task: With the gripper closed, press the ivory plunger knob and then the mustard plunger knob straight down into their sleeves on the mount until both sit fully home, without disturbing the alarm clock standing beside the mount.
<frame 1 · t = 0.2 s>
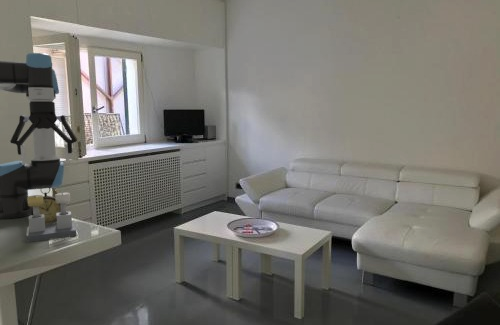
hand: (46, 163, 135), 27 cm above the table, fingers open, 13 cm apart
alarm clock: (48, 226, 158), on the table
knob ivory: (63, 204, 148), point 11 cm above the table, slide at 0.0 cm
mount: (51, 233, 148), on the table
knob mustard: (35, 207, 144), point 11 cm above the table, slide at 0.0 cm
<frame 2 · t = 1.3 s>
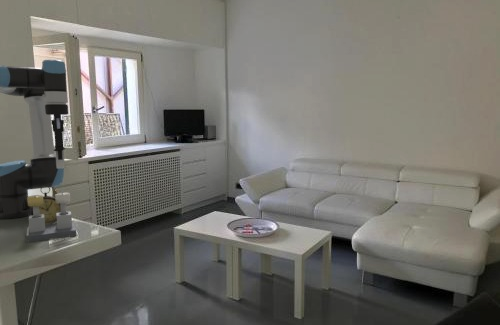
hand: (60, 167, 147), 24 cm above the table, fingers closed
nothing on the table moved.
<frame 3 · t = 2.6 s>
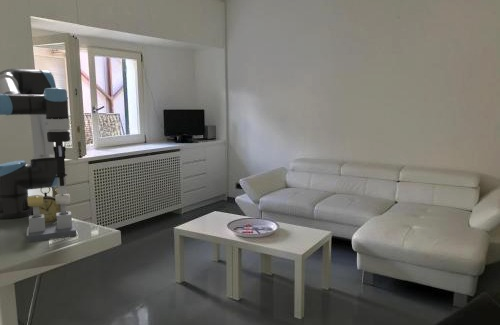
hand: (62, 194, 148), 15 cm above the table, fingers closed
knob ivory: (63, 205, 148), point 10 cm above the table, slide at 0.4 cm, touching gripper
everything else where it was.
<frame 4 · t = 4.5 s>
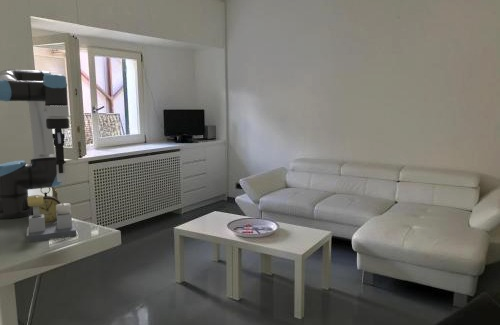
hand: (61, 181, 148), 19 cm above the table, fingers closed
knob ivory: (63, 214, 149), point 7 cm above the table, slide at 4.1 cm
everything else where it was.
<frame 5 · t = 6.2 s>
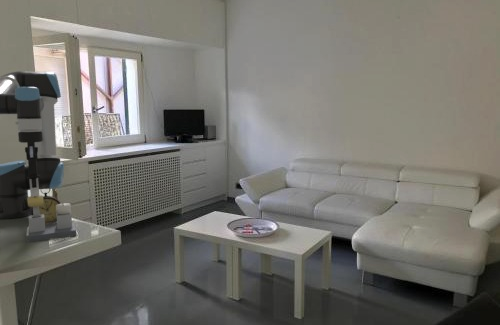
hand: (35, 195, 144), 15 cm above the table, fingers closed
knob mustard: (35, 207, 144), point 10 cm above the table, slide at 0.1 cm, touching gripper
everything else where it was.
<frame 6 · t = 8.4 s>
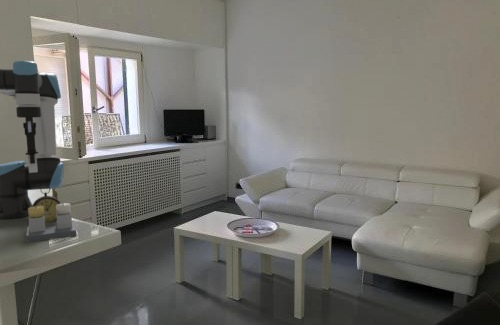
hand: (33, 172, 143), 24 cm above the table, fingers closed
knob mustard: (36, 217, 145), point 7 cm above the table, slide at 4.1 cm
everything else where it was.
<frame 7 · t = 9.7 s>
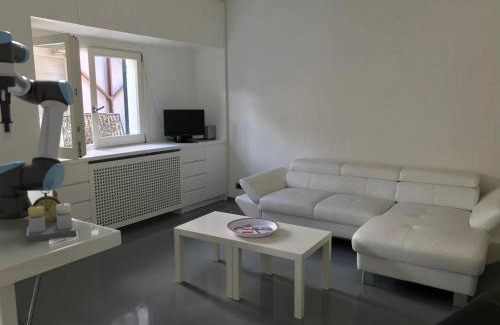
hand: (8, 141, 145), 34 cm above the table, fingers closed
nothing on the table moved.
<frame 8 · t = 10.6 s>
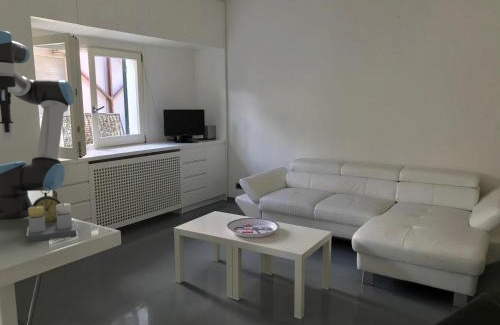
hand: (8, 141, 145), 34 cm above the table, fingers closed
nothing on the table moved.
at the end: knob ivory slide at 4.1 cm; knob mustard slide at 4.1 cm; alarm clock tilted 0° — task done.
